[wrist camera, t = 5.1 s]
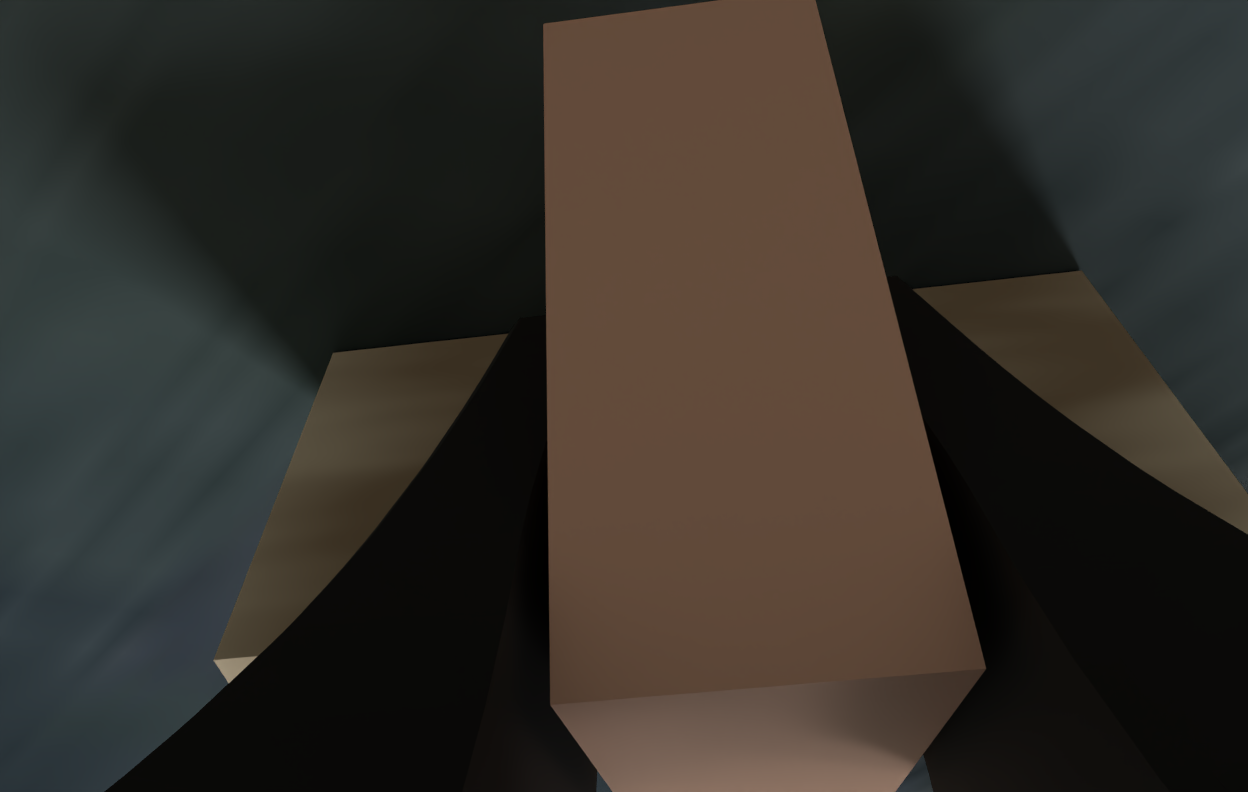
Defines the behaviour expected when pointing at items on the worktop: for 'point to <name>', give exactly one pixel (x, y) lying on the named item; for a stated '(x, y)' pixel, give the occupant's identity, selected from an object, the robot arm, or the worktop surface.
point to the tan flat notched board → (732, 422)
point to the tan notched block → (450, 370)
